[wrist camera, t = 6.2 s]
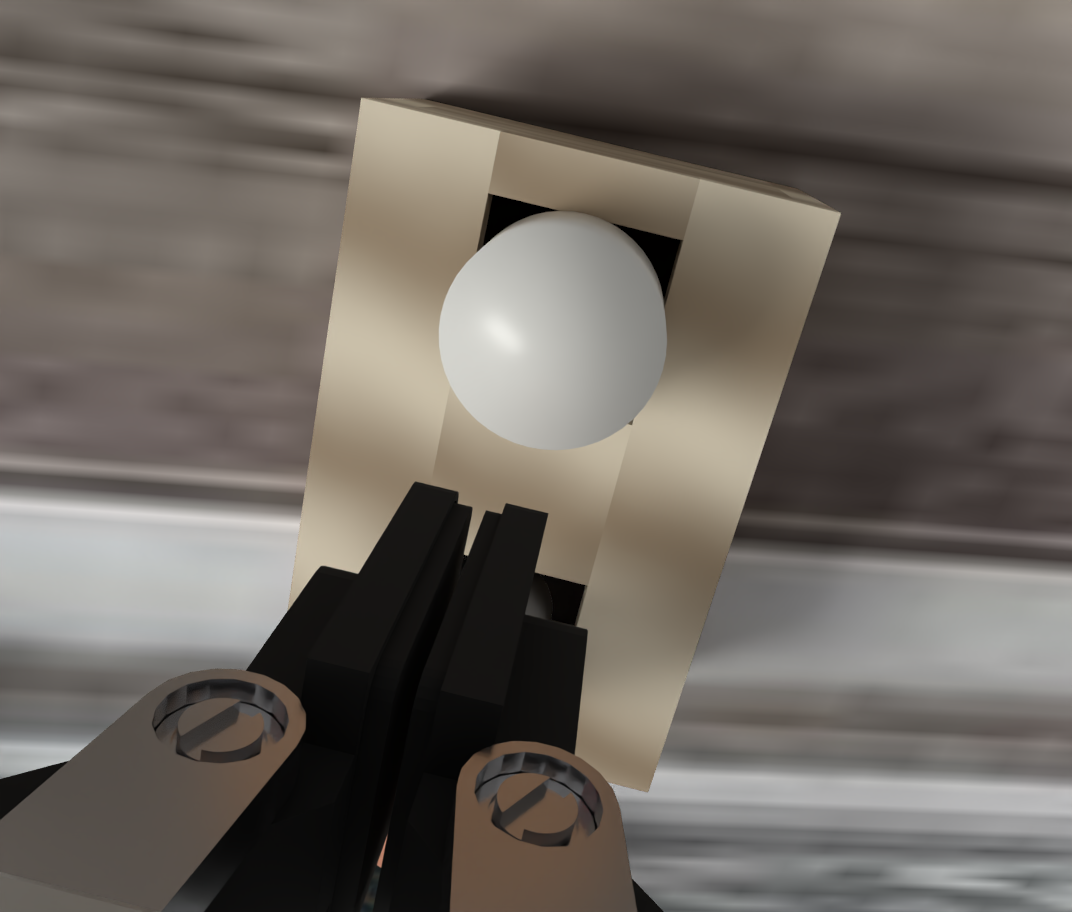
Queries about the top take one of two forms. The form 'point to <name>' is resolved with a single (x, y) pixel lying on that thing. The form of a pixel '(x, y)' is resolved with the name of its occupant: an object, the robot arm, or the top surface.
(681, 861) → the top surface
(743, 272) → the button box
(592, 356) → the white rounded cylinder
